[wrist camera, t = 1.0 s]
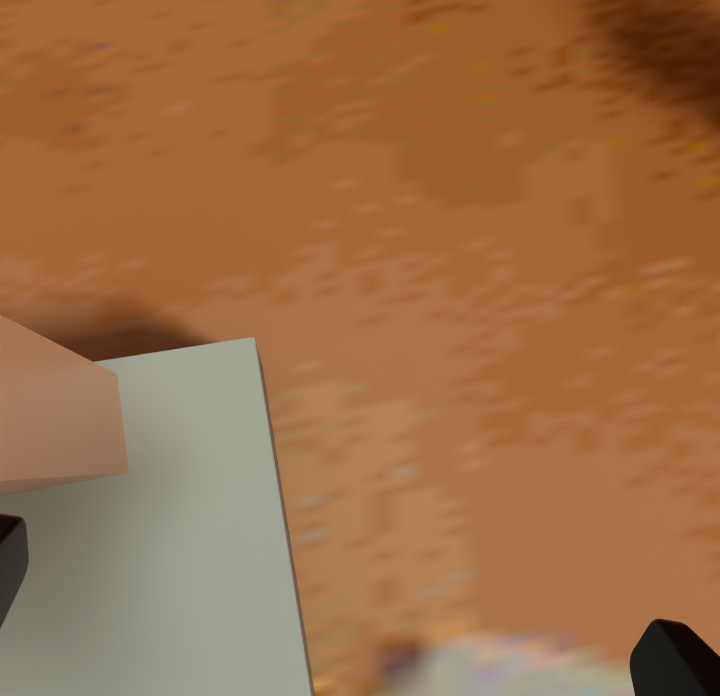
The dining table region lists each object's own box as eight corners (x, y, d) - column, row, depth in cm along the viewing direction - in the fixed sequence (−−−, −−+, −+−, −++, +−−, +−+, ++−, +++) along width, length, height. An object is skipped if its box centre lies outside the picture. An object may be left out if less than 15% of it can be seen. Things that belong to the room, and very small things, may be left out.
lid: (325, 775, 19) (369, 1170, 8) (-80, 882, 18) (-668, 1549, 7) (258, 351, 22) (225, 240, 11) (-107, 409, 20) (-576, 346, 9)
